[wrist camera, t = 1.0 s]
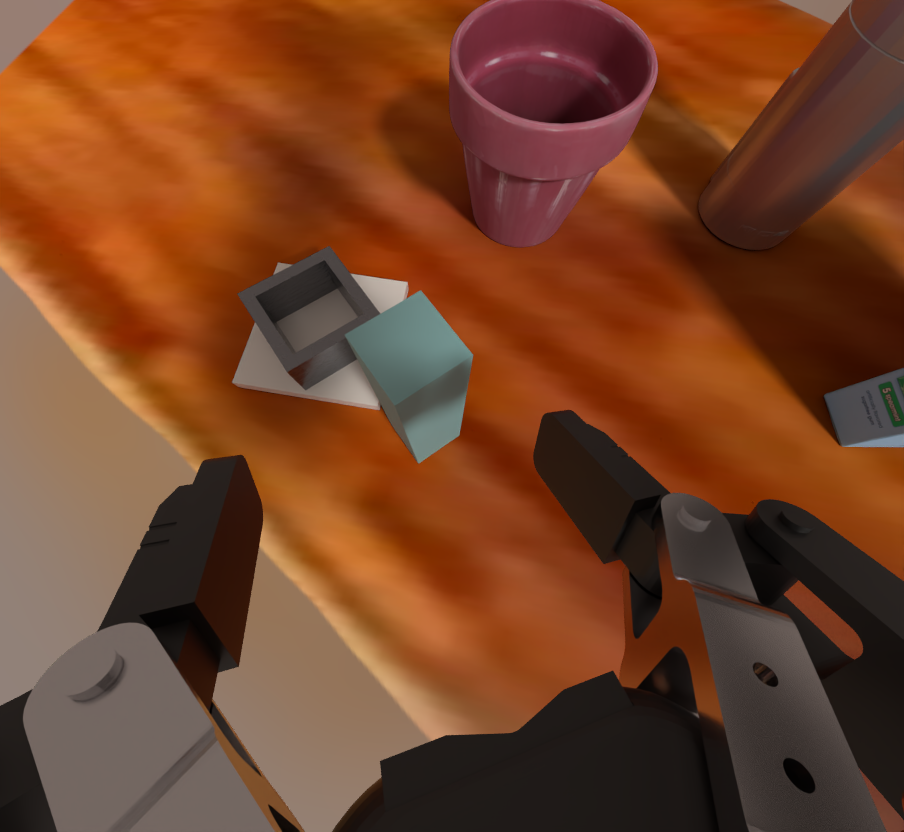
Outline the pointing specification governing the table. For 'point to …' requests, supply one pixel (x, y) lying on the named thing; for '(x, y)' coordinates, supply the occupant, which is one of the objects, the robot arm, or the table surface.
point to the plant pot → (543, 107)
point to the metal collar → (295, 293)
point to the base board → (308, 327)
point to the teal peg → (415, 372)
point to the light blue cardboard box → (869, 412)
